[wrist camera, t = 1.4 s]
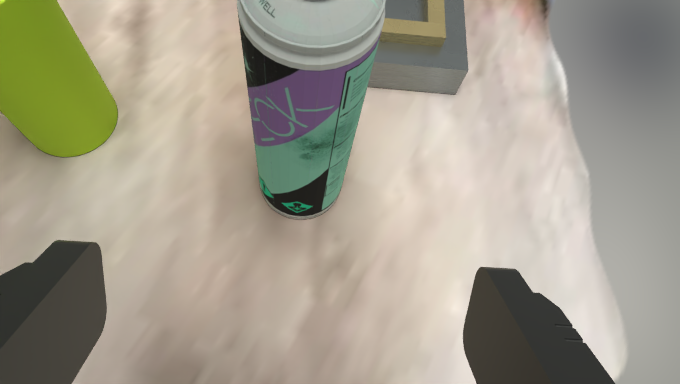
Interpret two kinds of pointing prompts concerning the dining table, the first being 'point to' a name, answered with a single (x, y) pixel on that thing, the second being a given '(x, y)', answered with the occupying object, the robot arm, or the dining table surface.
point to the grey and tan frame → (421, 47)
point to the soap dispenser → (51, 81)
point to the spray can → (306, 93)
